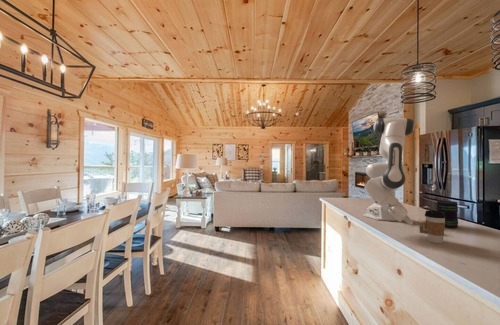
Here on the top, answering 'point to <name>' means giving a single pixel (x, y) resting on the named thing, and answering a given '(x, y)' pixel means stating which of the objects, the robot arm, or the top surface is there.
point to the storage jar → (449, 213)
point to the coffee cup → (435, 225)
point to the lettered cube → (422, 226)
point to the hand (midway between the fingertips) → (412, 223)
